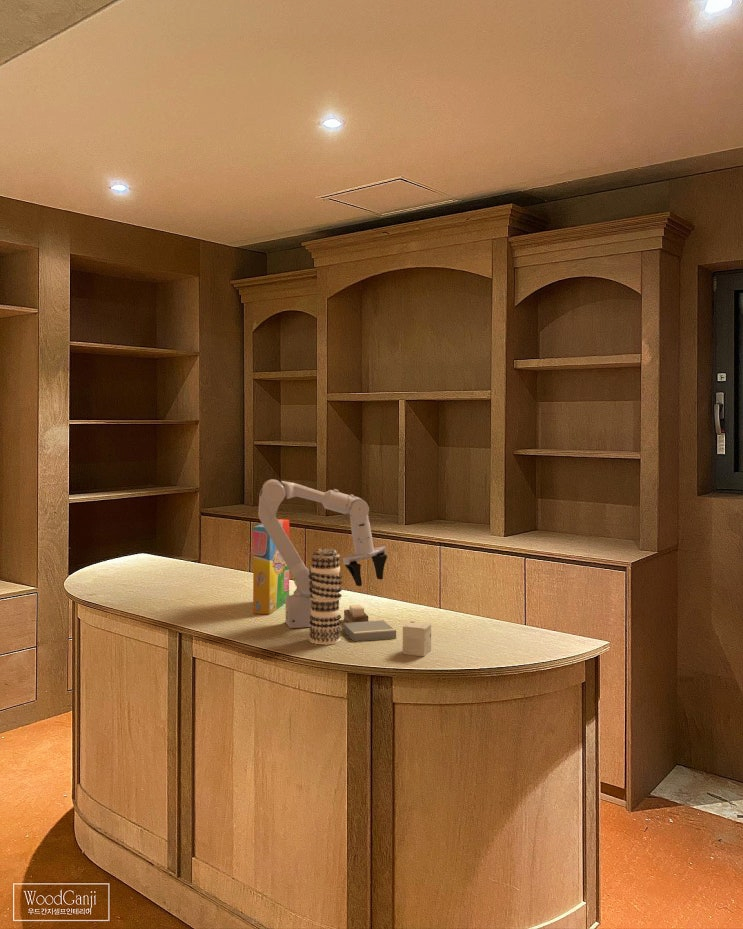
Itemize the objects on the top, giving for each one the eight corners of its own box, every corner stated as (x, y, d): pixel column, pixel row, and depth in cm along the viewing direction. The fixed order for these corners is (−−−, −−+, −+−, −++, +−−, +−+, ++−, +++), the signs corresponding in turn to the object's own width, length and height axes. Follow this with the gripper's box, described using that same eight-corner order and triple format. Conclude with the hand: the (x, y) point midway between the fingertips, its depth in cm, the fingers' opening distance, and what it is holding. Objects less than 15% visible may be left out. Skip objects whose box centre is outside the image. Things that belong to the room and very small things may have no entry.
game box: (269, 615, 247) (269, 527, 246) (252, 614, 248) (252, 526, 247) (289, 600, 268) (289, 518, 266) (273, 599, 269) (273, 518, 267)
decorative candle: (301, 640, 220) (301, 549, 218) (326, 634, 226) (327, 546, 225) (323, 647, 213) (323, 554, 212) (348, 640, 220) (349, 550, 218)
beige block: (353, 619, 236) (353, 609, 236) (349, 615, 241) (349, 605, 241) (364, 618, 237) (364, 608, 237) (359, 614, 242) (359, 604, 242)
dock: (354, 641, 219) (354, 632, 219) (343, 629, 231) (343, 622, 231) (396, 638, 223) (396, 629, 223) (383, 627, 234) (383, 619, 234)
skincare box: (424, 657, 206) (424, 628, 205) (401, 654, 208) (402, 626, 208) (431, 650, 211) (431, 622, 211) (409, 648, 214) (409, 620, 213)
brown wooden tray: (351, 628, 234) (351, 617, 234) (344, 620, 243) (344, 609, 243) (368, 627, 236) (368, 615, 235) (359, 619, 244) (360, 608, 244)
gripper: (349, 544, 231) (356, 590, 232) (389, 532, 239) (396, 577, 240) (336, 542, 237) (343, 587, 238) (376, 531, 245) (383, 574, 246)
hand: (369, 582), depth 240 cm, fingers open, 7 cm apart
